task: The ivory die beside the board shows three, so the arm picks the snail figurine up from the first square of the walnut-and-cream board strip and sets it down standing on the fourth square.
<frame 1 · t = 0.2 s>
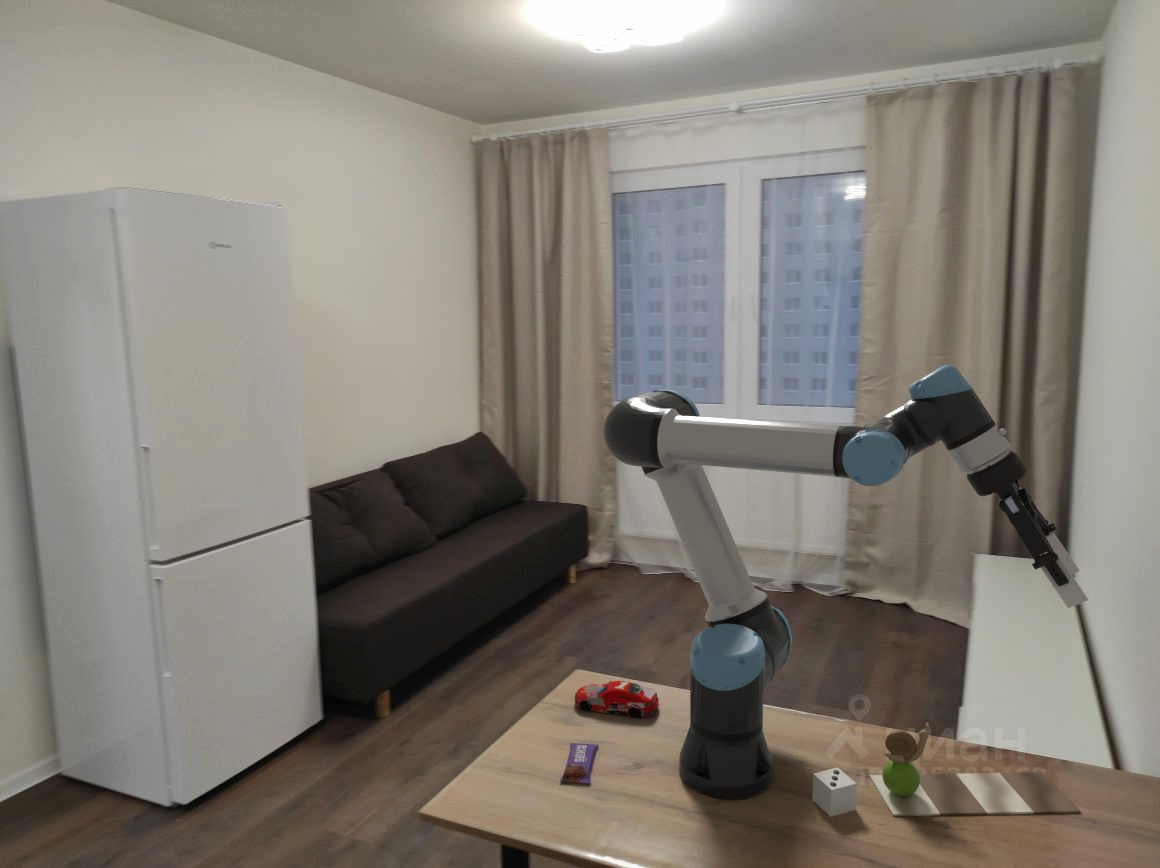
hand: (1074, 588, 115), 35 cm above the table, tool tilted 35°, fingers open, 13 cm apart
game board: (970, 794, 125), on the table
race car: (616, 709, 154), on the table
snack package: (580, 768, 135), on the table
snail figurine: (903, 794, 125), resting on game board
die: (833, 805, 123), on the table
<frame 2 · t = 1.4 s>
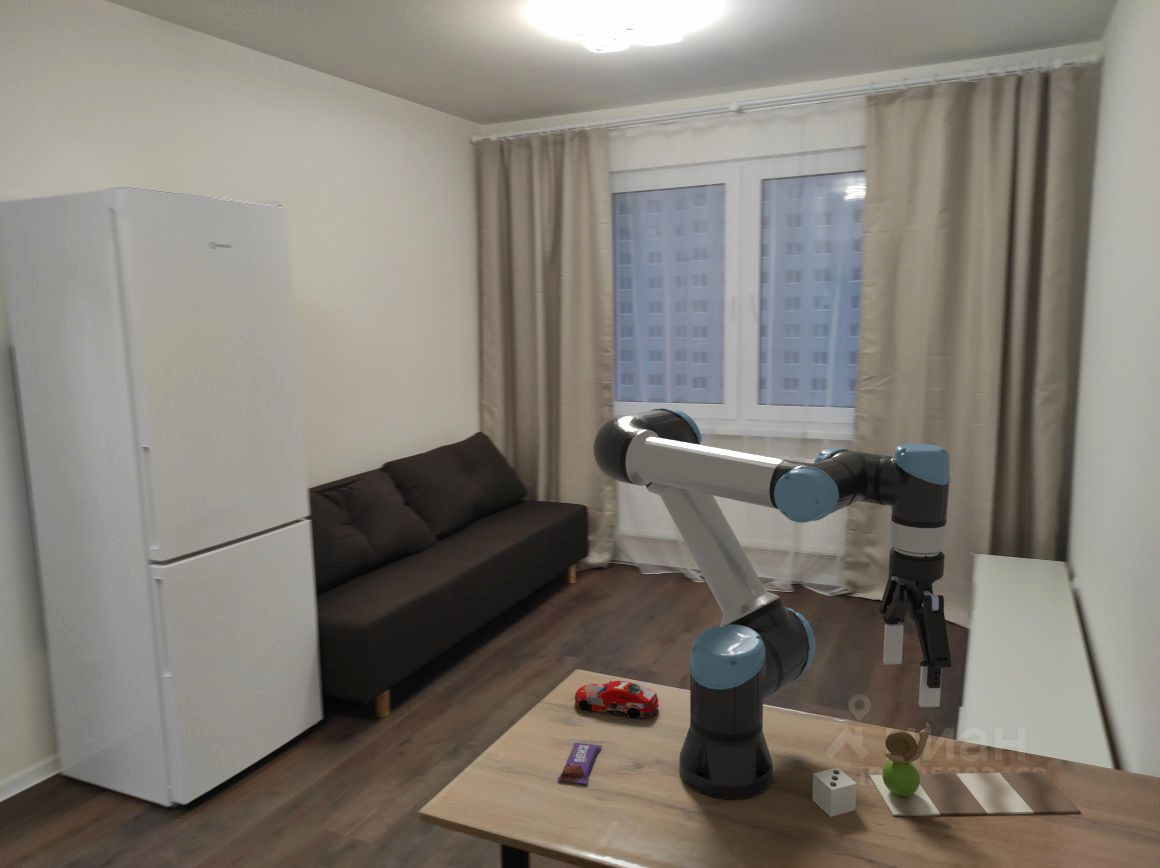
hand: (909, 683, 122), 19 cm above the table, tool pointing down, fingers open, 13 cm apart
nothing on the table moved.
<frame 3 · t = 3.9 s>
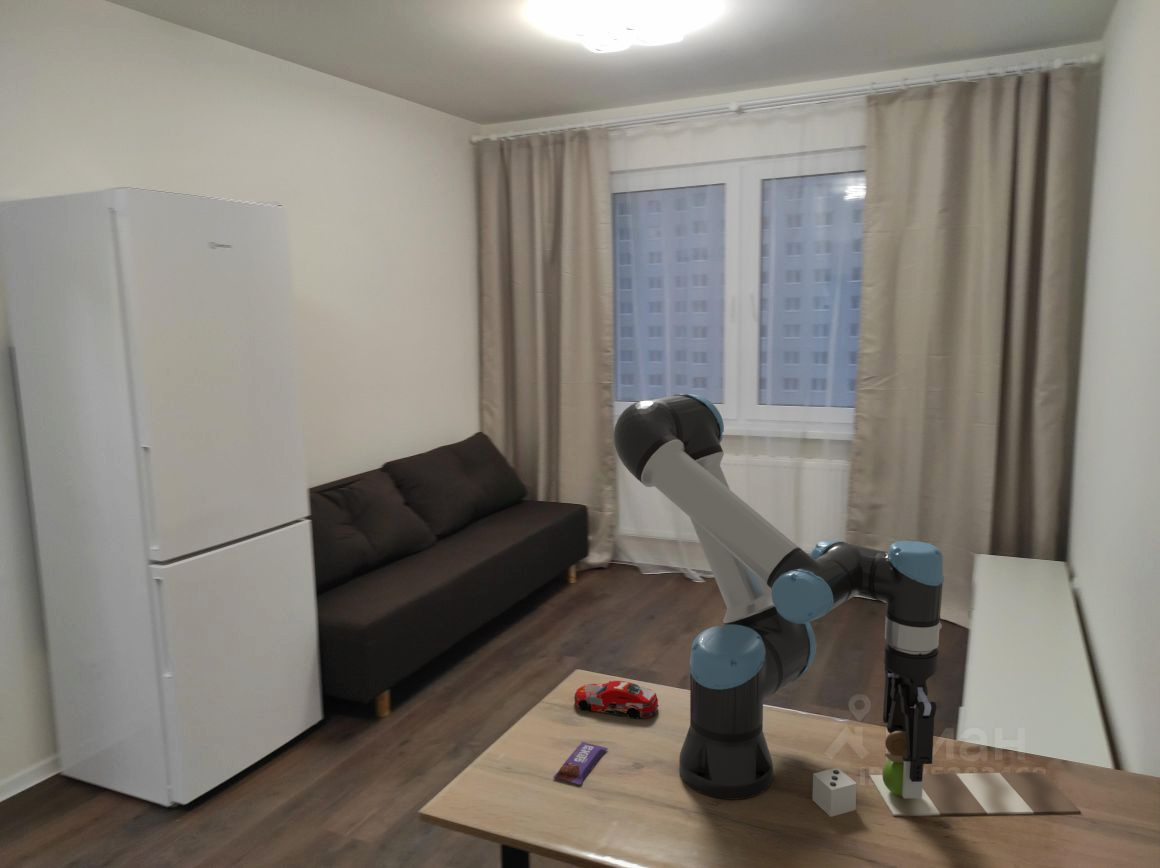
hand: (903, 784, 125), 2 cm above the table, tool pointing down, fingers closed on snail figurine, 5 cm apart
snail figurine: (903, 794, 125), resting on game board, touching gripper
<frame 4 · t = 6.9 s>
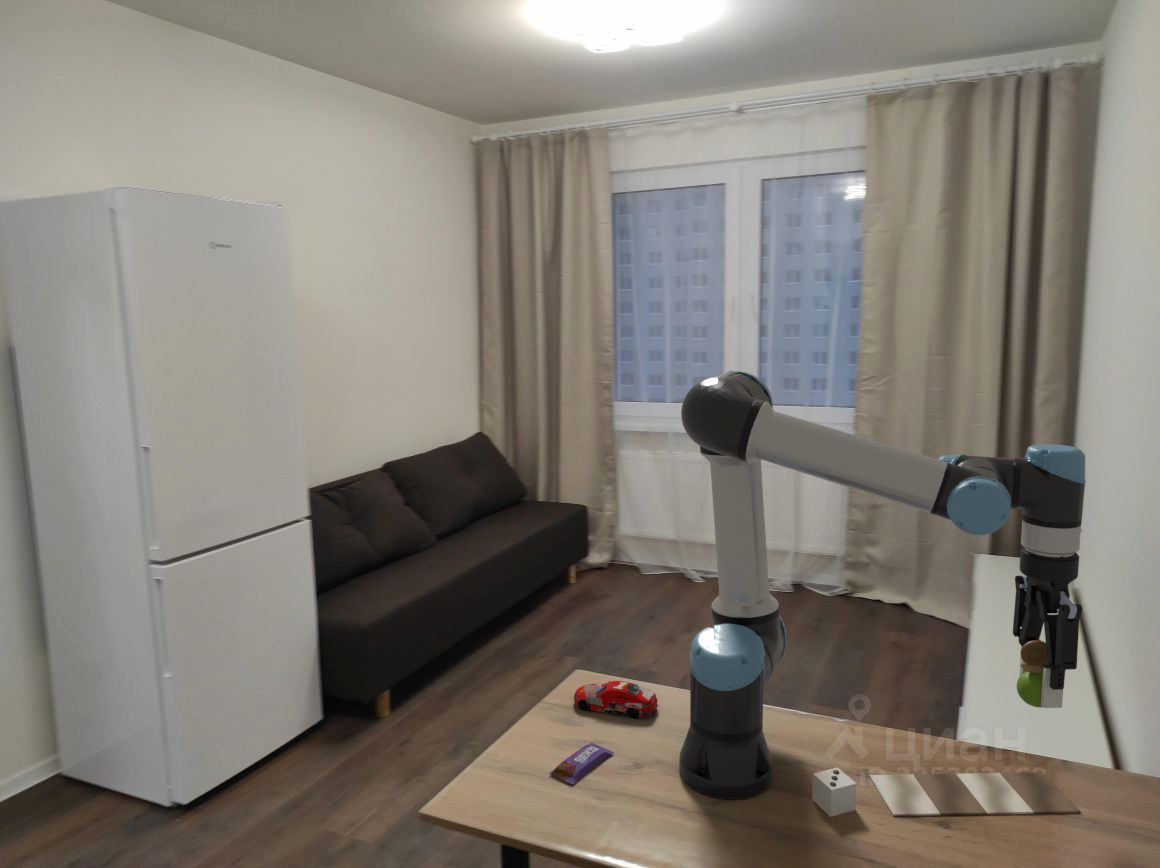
hand: (1039, 696, 122), 16 cm above the table, tool pointing down, fingers closed on snail figurine, 5 cm apart
snail figurine: (1039, 706, 122), point 15 cm above the table, touching gripper
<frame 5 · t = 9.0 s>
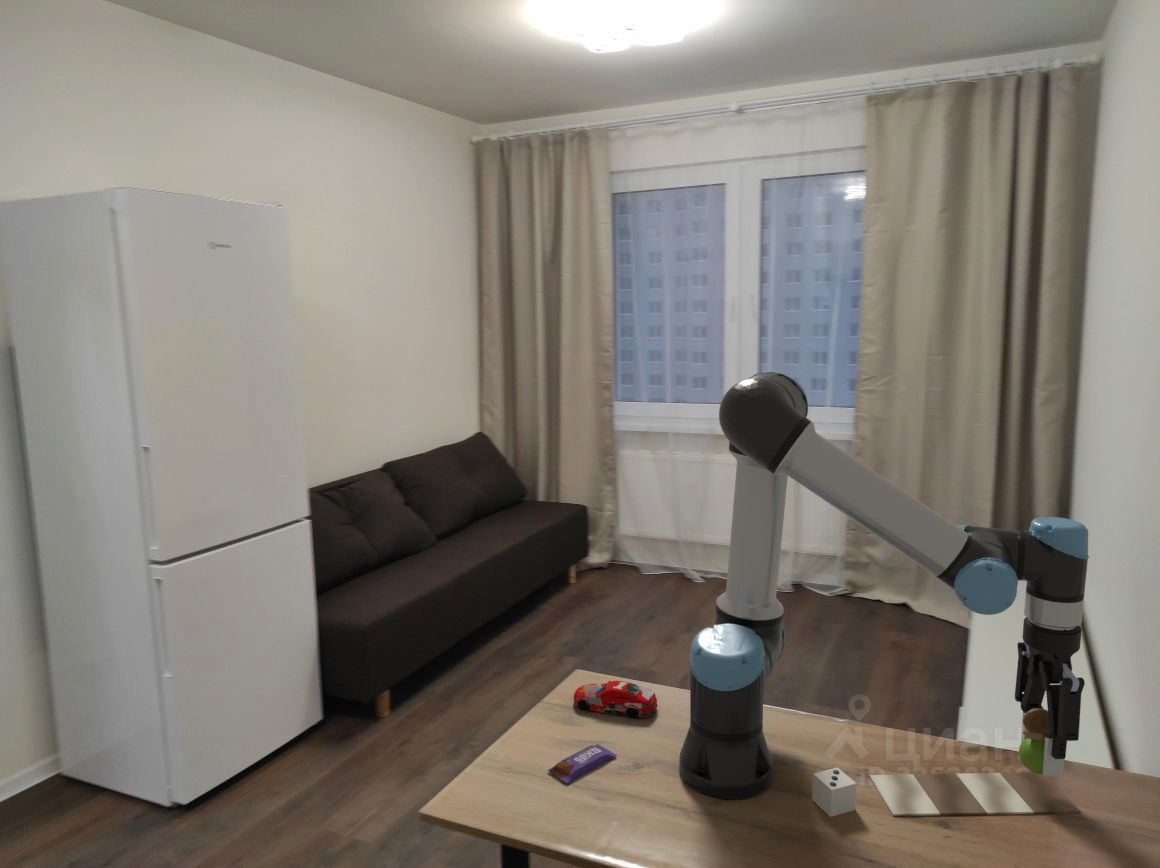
hand: (1041, 762, 124), 5 cm above the table, tool pointing down, fingers closed on snail figurine, 5 cm apart
snail figurine: (1040, 772, 124), point 4 cm above the table, touching gripper
when the fingers open (3 cm above the table, at t = 10.2 s): snail figurine drops 1 cm, resting on game board.
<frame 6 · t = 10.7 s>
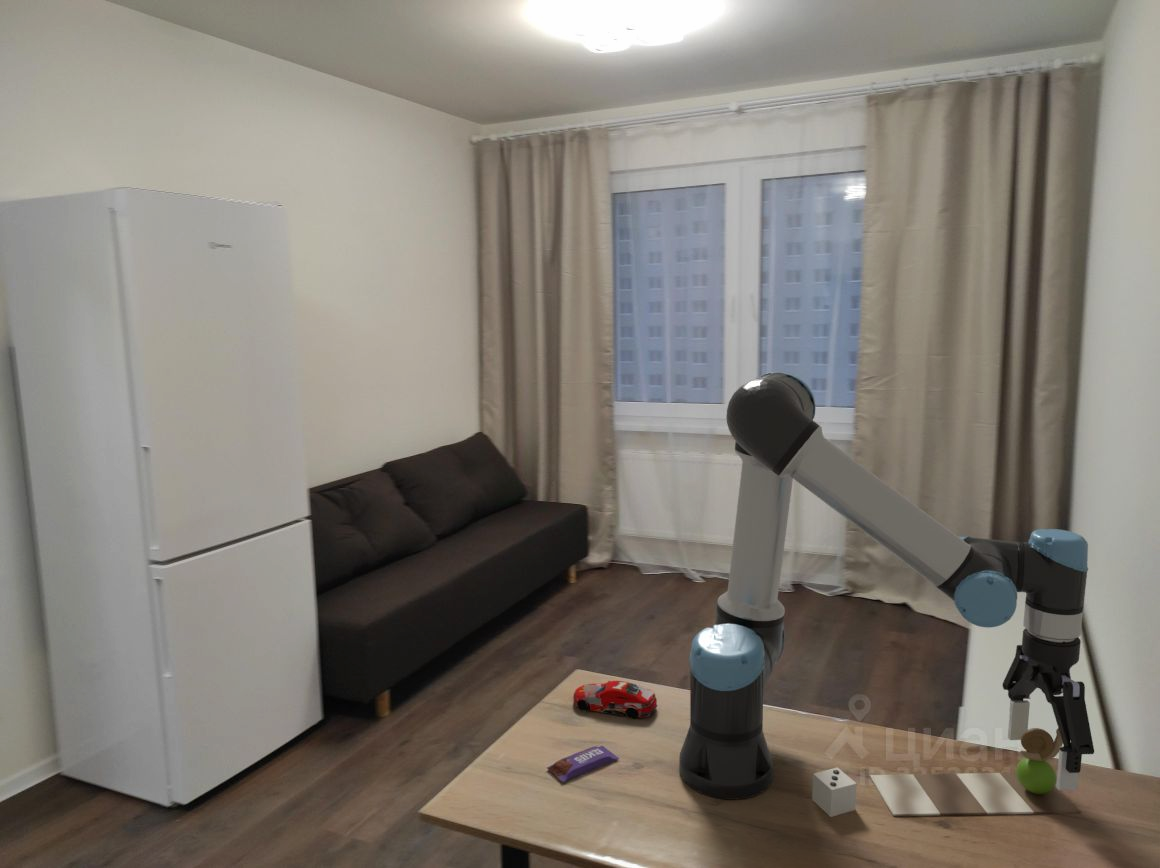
hand: (1040, 762, 124), 5 cm above the table, tool pointing down, fingers open, 13 cm apart
snail figurine: (1038, 792, 125), resting on game board
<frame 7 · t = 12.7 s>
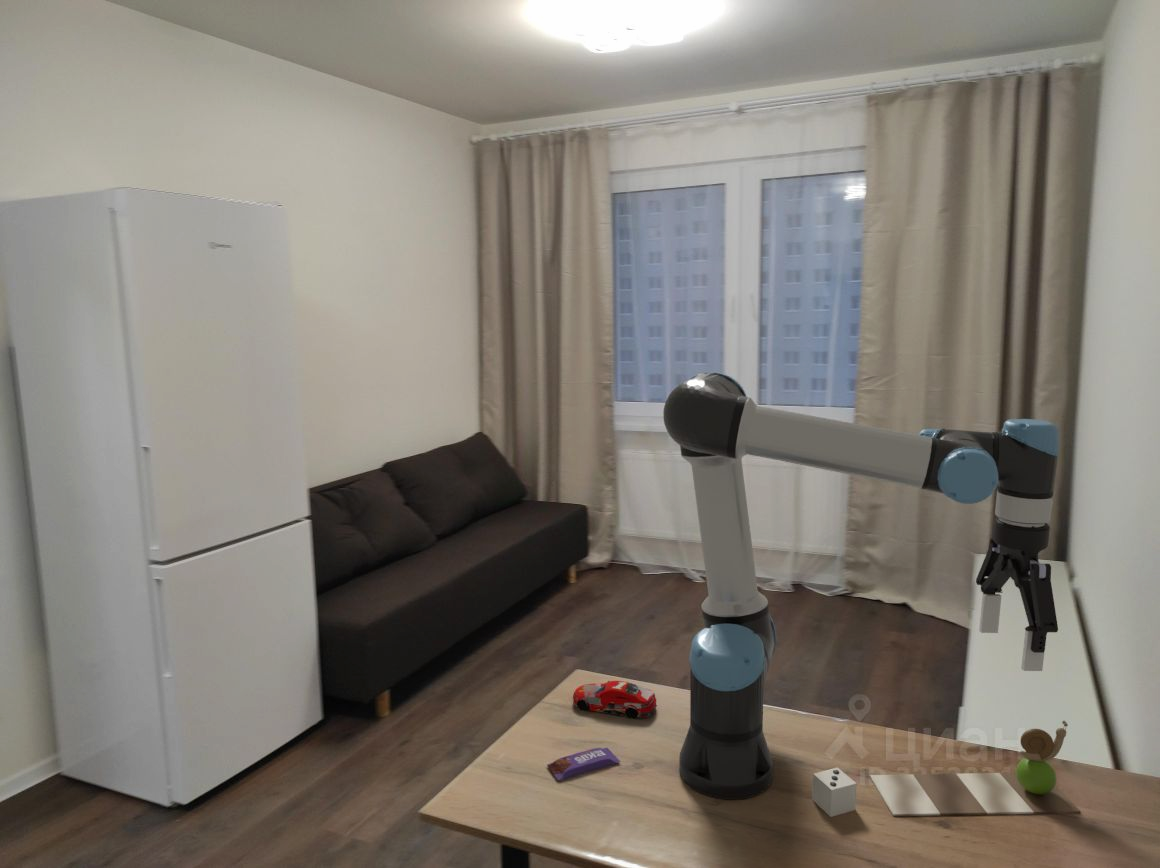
hand: (1008, 650, 127), 21 cm above the table, tool pointing down, fingers open, 13 cm apart
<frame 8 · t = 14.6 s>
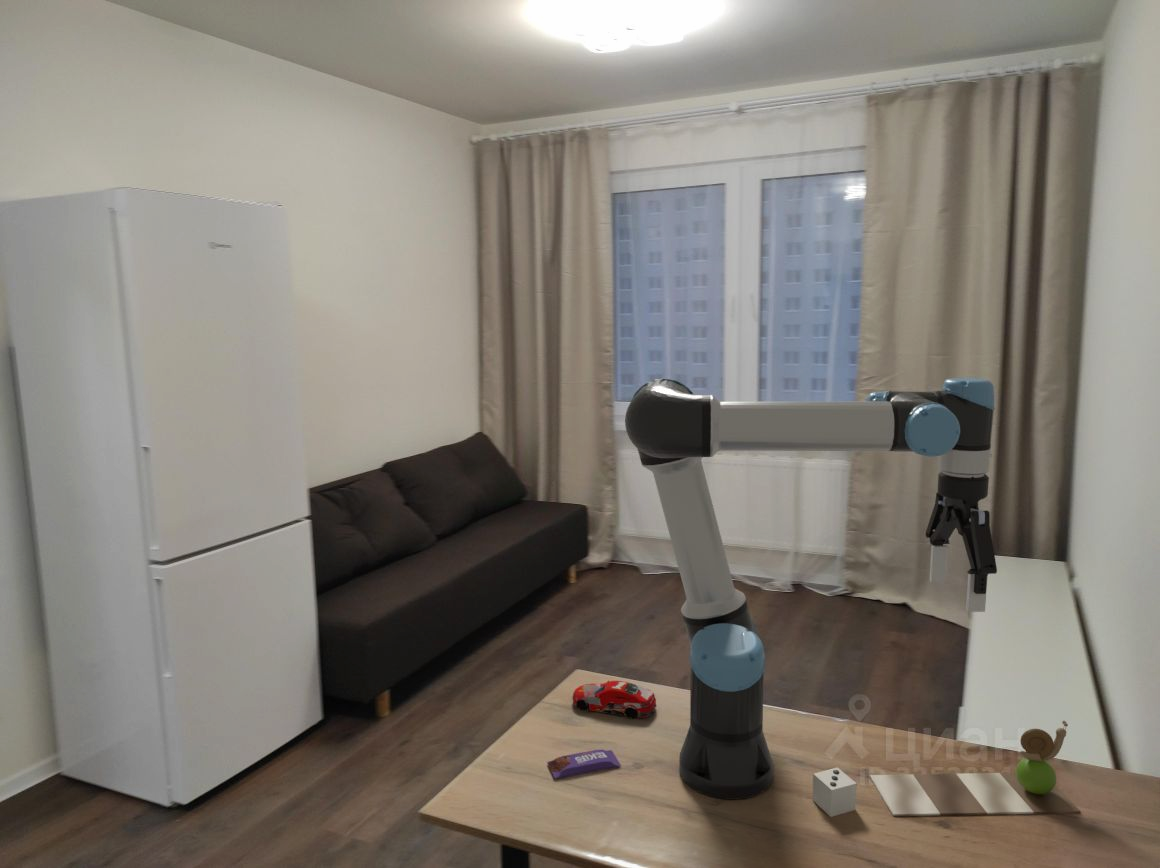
hand: (955, 595, 135), 27 cm above the table, tool pointing down, fingers open, 13 cm apart
at the end: snail figurine 0.1 cm from the target spot on the game board, point 0.1 cm above the game board's base; snail figurine tilted 0°; the gripper is holding nothing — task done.
